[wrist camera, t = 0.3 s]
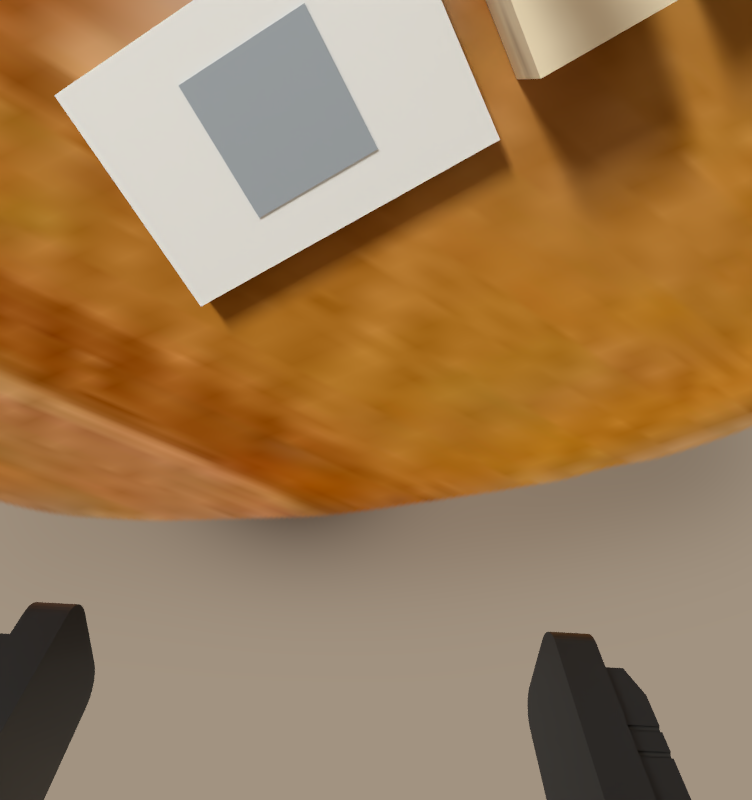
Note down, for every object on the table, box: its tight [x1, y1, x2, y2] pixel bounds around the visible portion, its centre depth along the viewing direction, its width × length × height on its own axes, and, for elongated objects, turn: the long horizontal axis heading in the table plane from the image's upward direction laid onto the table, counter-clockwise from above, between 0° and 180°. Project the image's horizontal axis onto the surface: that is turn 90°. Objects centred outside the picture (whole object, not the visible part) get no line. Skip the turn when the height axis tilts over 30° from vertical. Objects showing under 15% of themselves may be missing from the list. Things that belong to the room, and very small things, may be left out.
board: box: [54, 0, 500, 306], centre depth 31 cm, size 18×12×1 cm, turn 118°
